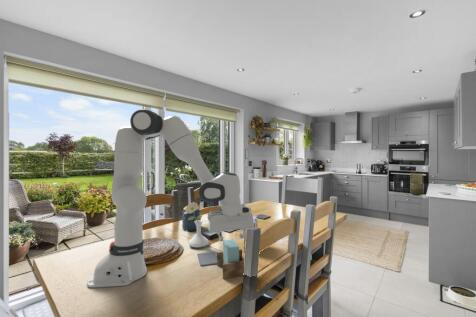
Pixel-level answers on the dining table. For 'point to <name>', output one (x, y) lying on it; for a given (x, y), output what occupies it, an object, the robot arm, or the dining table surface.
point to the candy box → (247, 228)
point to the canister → (190, 224)
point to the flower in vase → (198, 238)
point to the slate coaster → (207, 258)
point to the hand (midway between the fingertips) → (231, 239)
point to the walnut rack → (231, 266)
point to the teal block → (230, 251)
